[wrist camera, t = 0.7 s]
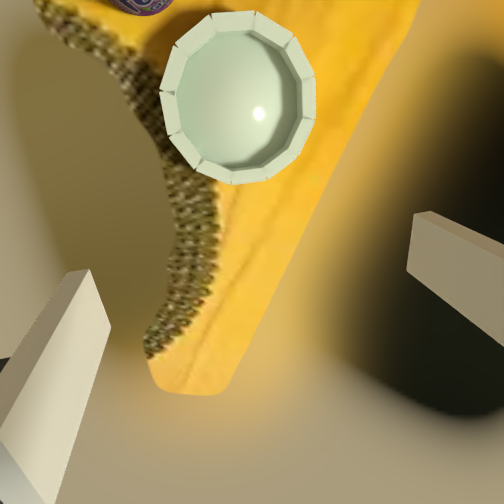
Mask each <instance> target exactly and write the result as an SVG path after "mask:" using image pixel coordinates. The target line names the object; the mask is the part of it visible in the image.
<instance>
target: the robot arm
mask: <svg viewBox="0 0 504 504" xmlns="http://www.w3.org/2000/svg"><path fill="white" fill-rule="evenodd" d="M407 271H408V272H409V273H410V274H411V275H413V276H414V277H415V278H417V279H418V280H419V281H420V282H422V283H423V284H424V285H426V286H427V287H428V288H429V289H431V290H432V291H433V292H434V293H436V294H437V295H438V296H440V297H441V298H442V299H443V300H445V301H446V302H447V303H449V304H450V305H451V306H452V307H454V308H455V309H456V310H458V311H459V312H460V313H461V314H463V315H464V316H465V317H466V318H468V319H469V320H471V321H472V322H473V323H474V324H475V325H477V326H478V327H479V328H481V329H482V330H483V331H484V332H486V333H487V334H488V335H490V336H491V337H492V338H493V339H495V340H496V341H497V342H499V343H500V344H501V345H502V346H504V245H502V244H501V243H498V242H496V241H494V240H492V239H490V238H488V237H486V236H483V235H481V234H479V233H477V232H475V231H472V230H470V229H468V228H466V227H464V226H462V225H460V224H457V223H455V222H453V221H451V220H449V219H446V218H444V217H442V216H440V215H438V214H436V213H434V212H431V211H429V212H423V213H417V214H414V218H413V226H412V233H411V241H410V248H409V256H408V263H407ZM110 329H111V326H110V323H109V321H108V318H107V315H106V312H105V310H104V307H103V304H102V302H101V299H100V296H99V294H98V291H97V288H96V286H95V283H94V280H93V278H92V275H91V272H90V270H89V269H86V270H80V271H74V272H68V273H67V274H66V276H65V277H64V279H63V280H62V282H61V283H60V285H59V286H58V288H57V289H56V291H55V292H54V294H53V295H52V297H51V298H50V300H49V301H48V303H47V304H46V306H45V307H44V309H43V310H42V312H41V313H40V315H39V316H38V318H37V319H36V321H35V322H34V324H33V325H32V326H31V328H30V330H29V331H28V332H27V334H26V335H25V337H24V338H23V340H22V341H21V343H20V345H19V346H18V347H17V349H16V351H15V352H14V353H13V355H12V356H11V357H9V358H4V359H0V504H55V501H56V497H57V494H58V491H59V488H60V485H61V482H62V479H63V476H64V472H65V469H66V466H67V463H68V459H69V457H70V454H71V450H72V447H73V444H74V441H75V438H76V435H77V432H78V429H79V426H80V423H81V420H82V416H83V413H84V410H85V407H86V404H87V401H88V398H89V395H90V392H91V388H92V385H93V382H94V379H95V376H96V373H97V370H98V367H99V363H100V360H101V357H102V354H103V351H104V348H105V345H106V342H107V339H108V335H109V332H110Z"/></svg>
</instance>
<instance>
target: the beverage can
mask: <svg viewBox="0 0 504 504" xmlns="http://www.w3.org/2000/svg"><path fill="white" fill-rule="evenodd" d="M109 1H110V2H111V3H113V4H114V5H115V6H116V7H118V8H119V9H121V10H123V11H125V12H127V13H130V14H133V15H137V16H150V15H154V14H157V13H159V12H161V11H163V10H164V9H166V8H167V7H168V6H169V5H170V4H171V3H172V1H173V0H109Z"/></svg>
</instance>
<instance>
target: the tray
mask: <svg viewBox="0 0 504 504" xmlns="http://www.w3.org/2000/svg"><path fill="white" fill-rule="evenodd" d="M292 36H293V33H291V32H290V31H288V30H286V29H285V28H283V27H282V26H280V25H278V24H277V23H275V22H274V21H272V20H270V19H269V18H267V17H266V16H264V15H262V14H261V13H259V12H256V13H255V14H254V10H253V11H238V12H222V13H211V17H210V15H207V16H206V17H205V18H204V19H203V20H201V21H200V22H199V23H198V24H197V25H195V26H194V27H193V28H192V29H191V30H190V31H188V32H187V33H186V34H185V35H184V36H182V37H181V38H180V39H179V40H178V41H176V42H175V46H176V47H175V46H173V48H172V51H171V54H170V57H169V60H168V63H167V66H166V70H165V73H164V76H163V79H162V82H161V85H160V88H159V89H161V90H162V91H163V92H159V93H160V99H161V104H162V109H163V114H164V120H165V125H166V130H167V135H170V136H169V139H170V140H171V141H172V143H173V144H174V145H175V146H176V148H177V149H178V150H179V151H180V153H181V154H182V155H183V156H184V158H185V159H186V160H187V161H188V163H189V164H190V165H191V166H192V168H193V169H195V168H196V171H197V172H200V173H202V174H205V175H207V176H209V177H212V178H214V179H217V180H219V181H222V182H224V183H226V184H229V185H230V183H231V184H232V185H237V184H244V183H251V182H259V181H266V178H267V179H270V178H271V177H273V176H274V175H275V174H277V173H278V172H279V171H281V170H282V169H283V168H285V167H286V166H287V165H289V164H290V163H291V162H292V161H294V160H295V159H296V158H297V157H296V155H297V156H299V154H300V152H301V150H302V148H303V146H304V144H305V142H306V140H307V138H308V136H309V133H310V131H311V129H312V127H313V125H314V123H315V121H314V120H312V119H316V77H312V76H313V75H315V73H314V71H313V69H312V68H311V66H310V64H309V62H308V60H307V58H306V56H305V54H304V52H303V50H302V48H301V46H300V44H299V42H298V40H297V38H296V36H295V37H293V38H292ZM291 38H292V39H291ZM311 77H312V78H311Z"/></svg>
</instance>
